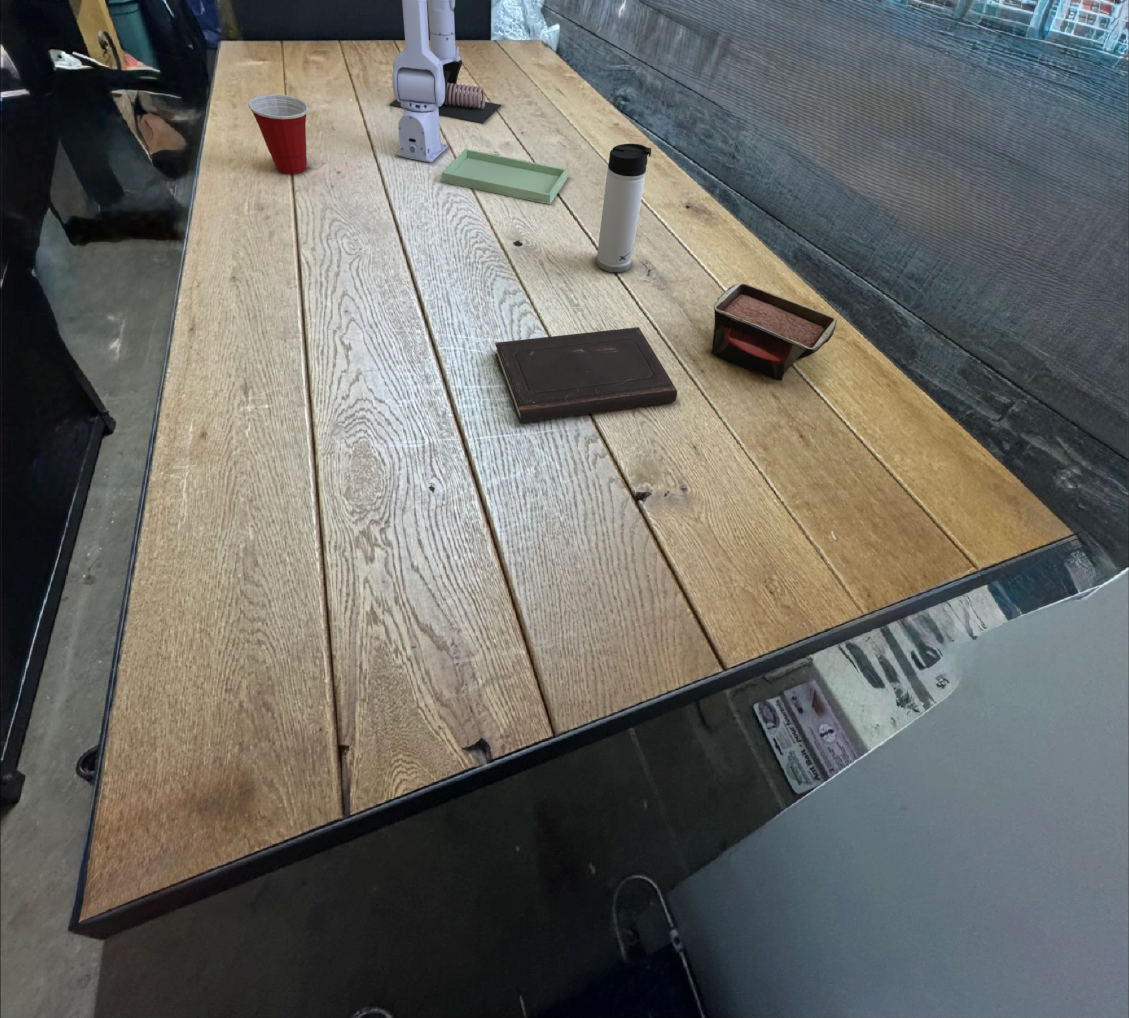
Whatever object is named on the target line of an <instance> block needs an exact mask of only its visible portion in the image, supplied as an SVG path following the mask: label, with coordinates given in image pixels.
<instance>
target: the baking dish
mask: <svg viewBox="0 0 1129 1018" xmlns="http://www.w3.org/2000/svg"><path fill="white" fill-rule="evenodd" d="M713 310H714V312H713V313H714V324H713V335H712V344H711V350H710V351H711V352H710V354H711V355H713V356H714V357H716V358H719V359H721V360H723V361H726V362H728V363H730V364H733V365H735V366H737V367H739V368H740V367H741V368H743V369H745V370H748V371H750V372H754V373H756V374H759V375H760V376H765V377H767V378H770V379H772V380H775V381H783V379H784V376H785V374H786V372H787V371H788V370H789V369H790V368H791V366H792V365H793V364H794V363H795V362H796V361H798V360H799V361H800V360H802V359H804V358H807V357H809V356H811V355H813V354H815V353H817V352H819V350H820V349H821V348H822V347H823V346H824V345H825V344H826V343H828V342H829V341H830V340H831V339H832V337H833V336H834V333H835V330H836V326H837V322H838V320H837V318H836V317H835V316H833V315H831V314H830V315H829V314H827V313H825V312H822V311H819V310H817V309H814V308H811V307H809V306H807V305H803V304H801V303H798V302H795V301H794V300H791V299H788V298H786V297H783V296H780V295H778V294H775V293H772V292H770V291H768V290H764V289H762V288H759V287H757V286H753V285H751V284H750V283H749V284H748V283H744V282H739V283H736V284H733V285H732V286H729V288H728V289H726V291H725V292H723V293H722V294H721V295H720V296H719V297H717V299H716V301H715V303H714V304H713Z"/></svg>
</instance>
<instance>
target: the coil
mask: <svg viewBox="0 0 1129 1018" xmlns="http://www.w3.org/2000/svg"><path fill="white" fill-rule="evenodd" d="M448 88H449V89H448ZM452 88H453V90H452ZM481 101H482V105H481ZM485 102H486V96H485V89H484V87H483V86H478V85H476V86H475V85H470V84H467V85H466V84H462V83H457V84H453V83H451V84H450V83H447V95H446V102H445V103H444V104H445V105H447V104H449V105H452V104H453V106H455V105H456V104H457V106H460V105H461V106H462V107H463V106H464V105H465V107H468V105H469V107H470V108H471V107H472V104H473V108H476V105H477V108H478V109H479V108H480V106H481V108H482V109H484V107H485Z"/></svg>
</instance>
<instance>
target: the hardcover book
mask: <svg viewBox="0 0 1129 1018" xmlns="http://www.w3.org/2000/svg"><path fill="white" fill-rule="evenodd" d="M494 345H495V348H496V352H495V353H494V356H495V358H496V361H497V365H498V367H499V369H500V373H501V375H502V379H503V381H504V384H505V386H506V389H507V393H508V395H509V398H510V401H511V403H512V406H513V409H514V412H515V415H516V417H517V421H518V423H519V424H525V423H531V422H540V421H546V420H553V419H560V418H567V417H575V416H576V417H577V416H583V415H589V414H597V413H604V412H610V411H618V410H625V409H633V408H639V407H647V406H655V405H662V404H667V403H669V404H670V403H675V402H676V400H677V397H678V390H677V388H676V386H675V385H674V383H673V381H672V380H671V378H670V376H669V374H668V373H667V371H666V370H665V368H664V366H663V364H662V363H661V361H660V360H659V358H658V356H657V355H656V352H655V351H654V349H653V348H652V346H651V345H650V343H649V342H648V339H647V338H646V336H645V334H644V333H643V332H642V330H641V328H640V327H639V326H636V327H626V328H618V329H617V328H616V329H608V330H607V329H606V330H600V331H599V330H598V331H589V332H580V333H573V334H562V335H553V336H544V337H533V338H526V339H525V338H524V339H516V340H505V341H498V342H494Z"/></svg>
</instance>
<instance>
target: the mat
mask: <svg viewBox="0 0 1129 1018" xmlns="http://www.w3.org/2000/svg"><path fill="white" fill-rule="evenodd" d="M481 105H482V100H481ZM389 106H390V107H396V108H401V109H404V107H401V102H398V101H397V99H396V98H395V99H394V100H393V101H392V102H390V103H389ZM501 106H502V104H499V103H495V102H489V101H485V107H484V109H482V108H481V106H480V108H479V109H478V108H477V105H476V108H473V104H472V107H471V108H470V107H469V105H468V107H465V105H464V106H463V107H462V106H461V105H460V106H457V104H456V105H455V106H453V104H452V105H449V104H447V105H445V104H444V103H443V104H442V105H441V106H439V107H438V110H439V116H440V117H447V118H452V119H457V120H462V121H467V122H472V123H476V124H481V125H483V124H484V123H486V121H487V120H488V119H490V117H492V115H493V114H494V113H495V112H496V111H498V109H500V108H501Z"/></svg>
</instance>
